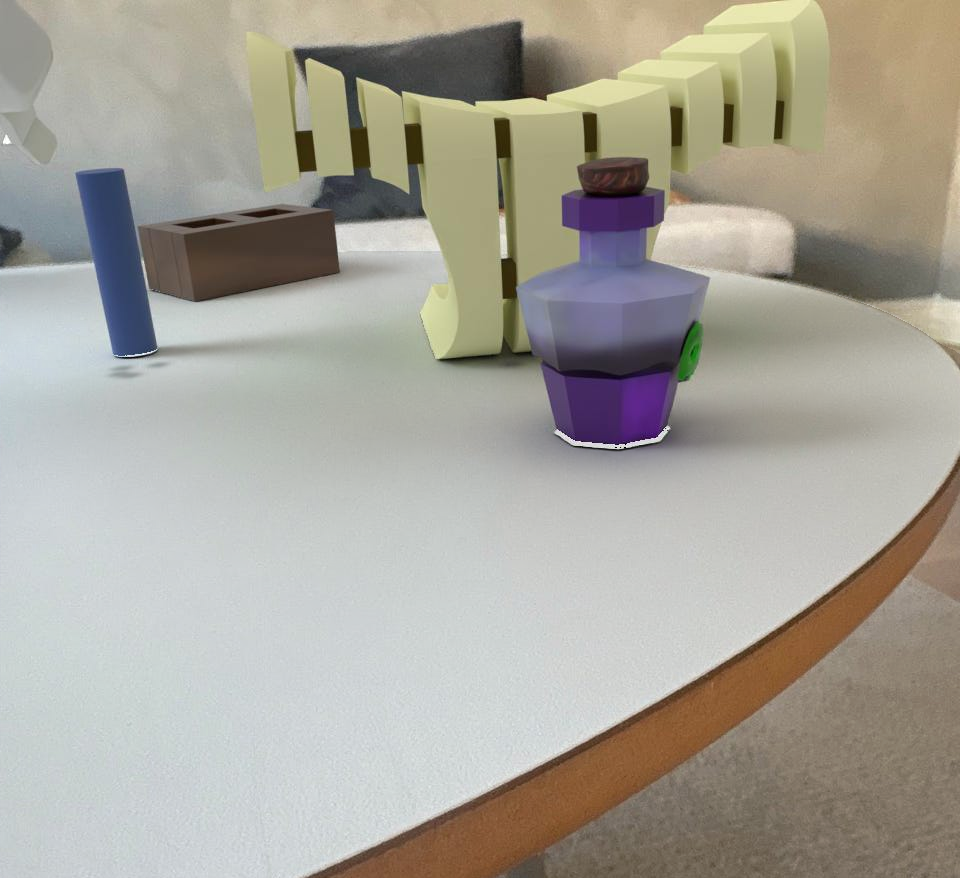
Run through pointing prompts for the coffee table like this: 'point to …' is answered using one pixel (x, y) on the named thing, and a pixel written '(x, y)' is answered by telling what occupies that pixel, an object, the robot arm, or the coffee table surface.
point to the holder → (239, 250)
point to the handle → (117, 260)
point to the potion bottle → (614, 312)
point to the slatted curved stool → (545, 148)
